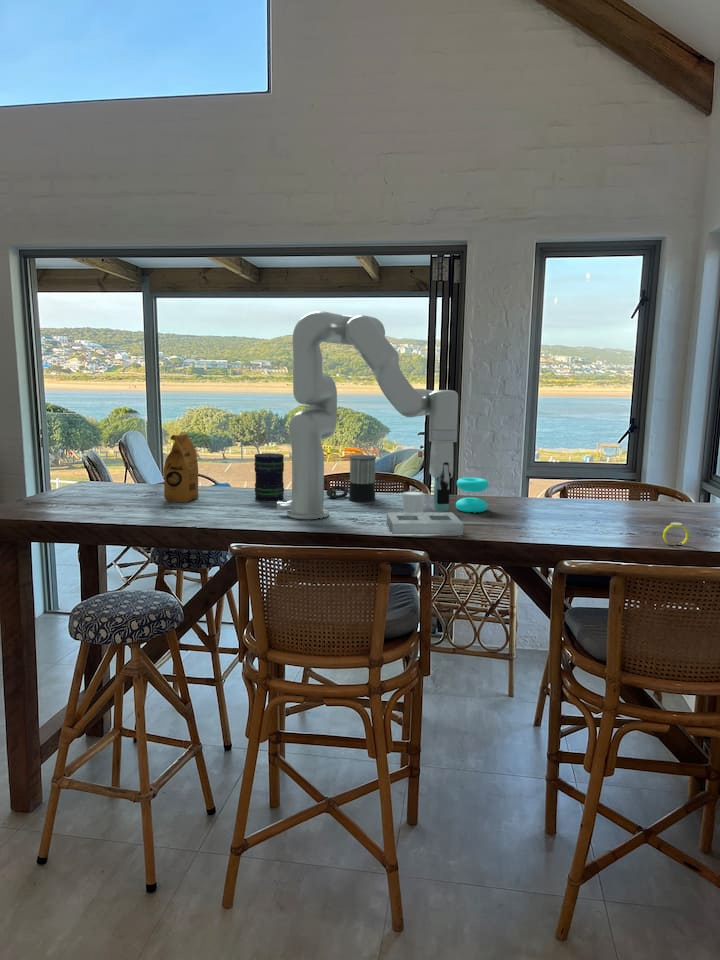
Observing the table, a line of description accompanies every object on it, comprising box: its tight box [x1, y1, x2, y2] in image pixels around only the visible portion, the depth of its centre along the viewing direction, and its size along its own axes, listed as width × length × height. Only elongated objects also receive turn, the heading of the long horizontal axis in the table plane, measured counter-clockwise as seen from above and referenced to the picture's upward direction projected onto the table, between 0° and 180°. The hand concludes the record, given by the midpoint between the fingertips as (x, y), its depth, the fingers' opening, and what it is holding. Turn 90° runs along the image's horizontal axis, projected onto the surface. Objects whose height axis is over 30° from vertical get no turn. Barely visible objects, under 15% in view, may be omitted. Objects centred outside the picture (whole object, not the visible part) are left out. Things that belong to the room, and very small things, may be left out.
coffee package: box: [163, 431, 200, 503], centre depth 222 cm, size 10×12×22 cm
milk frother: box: [326, 454, 377, 503], centre depth 229 cm, size 14×16×15 cm
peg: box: [433, 474, 450, 512], centre depth 185 cm, size 4×4×10 cm
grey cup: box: [402, 490, 426, 512], centre depth 204 cm, size 7×7×7 cm
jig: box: [386, 511, 464, 536], centre depth 186 cm, size 19×14×4 cm
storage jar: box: [254, 452, 285, 503], centre depth 226 cm, size 10×10×15 cm
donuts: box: [455, 476, 489, 514], centre depth 214 cm, size 10×10×10 cm
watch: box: [662, 522, 690, 545], centre depth 174 cm, size 6×3×6 cm, turn 82°
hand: (441, 501), depth 185 cm, fingers closed on peg, 4 cm apart
